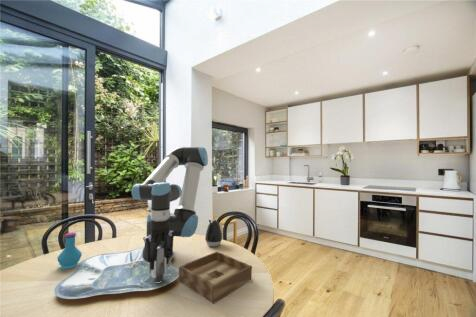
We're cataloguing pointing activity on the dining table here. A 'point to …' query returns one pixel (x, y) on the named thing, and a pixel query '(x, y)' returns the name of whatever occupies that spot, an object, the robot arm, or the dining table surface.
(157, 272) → the peg
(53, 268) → the dining table surface
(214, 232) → the pump dispenser
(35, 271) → the dining table surface
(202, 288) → the box
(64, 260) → the perfume bottle
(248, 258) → the dining table surface
